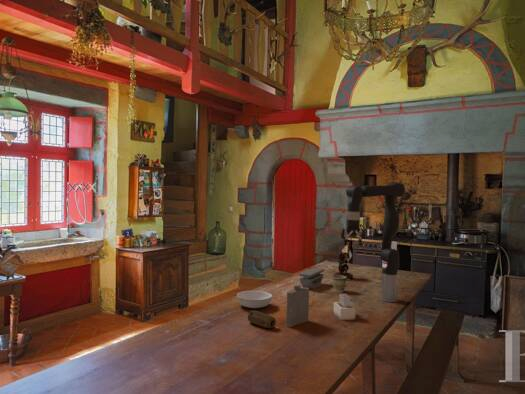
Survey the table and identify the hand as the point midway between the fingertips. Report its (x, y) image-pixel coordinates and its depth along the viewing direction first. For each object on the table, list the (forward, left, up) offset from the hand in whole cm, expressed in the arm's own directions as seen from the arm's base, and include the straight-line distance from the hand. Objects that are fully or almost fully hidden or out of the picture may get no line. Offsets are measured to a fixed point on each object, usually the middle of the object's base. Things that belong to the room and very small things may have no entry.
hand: (352, 245), depth 241 cm
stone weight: (+59, +32, -36) cm, 76 cm away
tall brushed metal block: (+11, +20, -35) cm, 41 cm away
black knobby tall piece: (-19, -69, -36) cm, 80 cm away
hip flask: (+40, +30, -36) cm, 62 cm away
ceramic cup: (-4, -30, -36) cm, 47 cm away
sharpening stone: (+13, -44, -36) cm, 59 cm away
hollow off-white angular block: (+11, +20, -36) cm, 43 cm away
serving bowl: (+59, 0, -36) cm, 69 cm away
